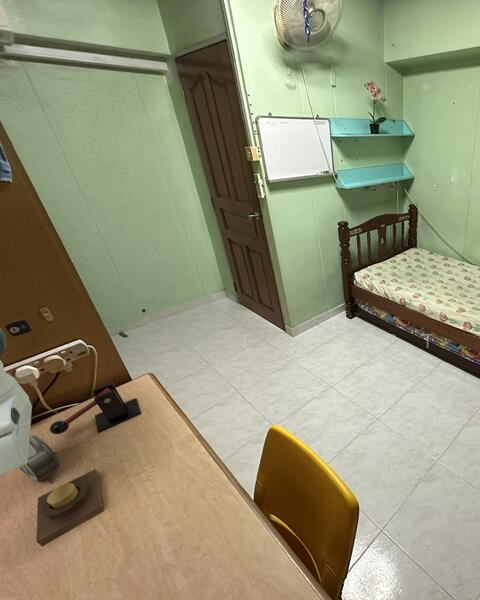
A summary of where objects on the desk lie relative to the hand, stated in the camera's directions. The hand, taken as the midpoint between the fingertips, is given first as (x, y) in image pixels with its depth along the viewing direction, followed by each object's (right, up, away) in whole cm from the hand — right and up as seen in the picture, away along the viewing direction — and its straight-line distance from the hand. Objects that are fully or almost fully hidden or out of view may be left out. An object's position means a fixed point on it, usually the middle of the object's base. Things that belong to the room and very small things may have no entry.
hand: (31, 452), depth 65 cm
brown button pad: (+2, -16, +7) cm, 18 cm away
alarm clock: (-12, -12, +14) cm, 22 cm away
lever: (-11, -1, +23) cm, 26 cm away
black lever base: (-8, -4, +29) cm, 30 cm away
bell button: (+2, -13, +5) cm, 14 cm away
